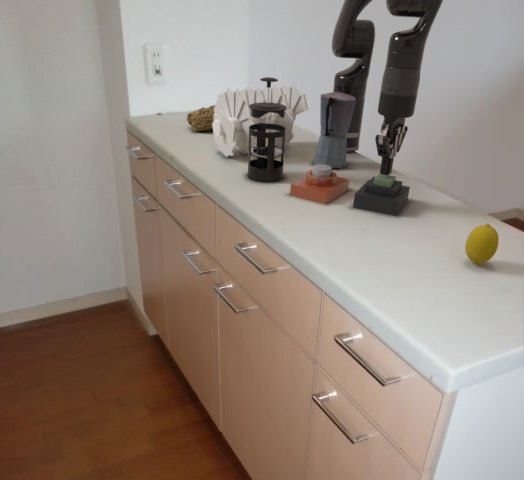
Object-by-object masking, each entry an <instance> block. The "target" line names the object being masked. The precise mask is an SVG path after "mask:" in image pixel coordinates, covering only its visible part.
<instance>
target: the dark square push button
mask: <svg viewBox="0 0 524 480" xmlns="http://www.w3.org/2000/svg"><path fill="white" fill-rule="evenodd" d="M375 177H376V176H372V177H371V178H370V179H367V180H366V182H365V183H364V184H363V185H362V186H360V187H359V189H358V190H356V192H355V193H354V197H353V204H352V208H353V209H356V210H363V211H366V212H367V211H368V212H373V213H378V214H384V215H388V216H394V217H397V216H398V214H399V213H400V212H401V210H402V209H403V208H404V206H405V205H406V204H407V202H408V200H409V194H410V189H411V186H407V185H403V181H402V180H397V179H395V184H394V185H393V186H392V187H391V188H390V187H384V186H378V185H373V182H374V178H375Z"/></svg>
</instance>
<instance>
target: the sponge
mask: <svg viewBox="0 0 524 480" xmlns="http://www.w3.org/2000/svg"><path fill="white" fill-rule="evenodd" d="M215 105H216V104H213V105H210V106H208V107H201V108H199V109H196V110H194V111H191V112H188V113H187V114H186V121H187V123H188V125H189V126H190V127H191V128H192V129H193V131H194V132H202V131H210V130H213V127H212V123H213V122H214V114H215V113H214V108H215Z"/></svg>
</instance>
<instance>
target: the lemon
mask: <svg viewBox="0 0 524 480" xmlns="http://www.w3.org/2000/svg"><path fill="white" fill-rule="evenodd" d="M498 247H499V234H498V232H497V230H496V229H495V228H494V227H493V226H492V225H490V223H485V224H480V225H478V226H476V227H474V228H472V230H471V231H470V233H469V234H468V236H467V239H466V241H465V245H464V248H465V249H464V250H465V254H466V256H467V258H468V259H469V260H470V261H471V262H473V264H474V265H479V264H482V263H483V264H484V263H486V262H488V261H490V260H491V259H492V258H493V257H494V256H495V254H496V253H497V250H498Z"/></svg>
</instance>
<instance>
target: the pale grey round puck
mask: <svg viewBox="0 0 524 480" xmlns="http://www.w3.org/2000/svg"><path fill="white" fill-rule="evenodd" d="M311 170H312V175H313V176H315V177H321V178H326V177H330V176H331V171H332V168H331V167H330V166H328V165H324V164H317V165H316V164H314V165H313V166H312V168H311Z"/></svg>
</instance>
